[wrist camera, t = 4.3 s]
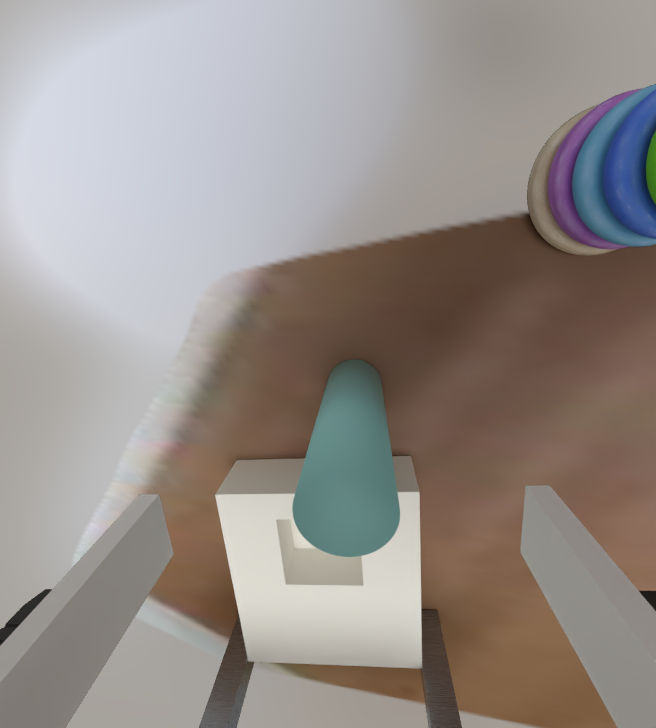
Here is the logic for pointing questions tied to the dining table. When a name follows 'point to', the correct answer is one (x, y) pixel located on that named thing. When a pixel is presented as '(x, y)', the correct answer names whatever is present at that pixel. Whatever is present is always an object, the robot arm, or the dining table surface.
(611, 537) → the dining table surface
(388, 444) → the peg
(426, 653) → the grey rectangular frame
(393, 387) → the dining table surface
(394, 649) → the socket block
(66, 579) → the robot arm
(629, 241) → the stacking toy
